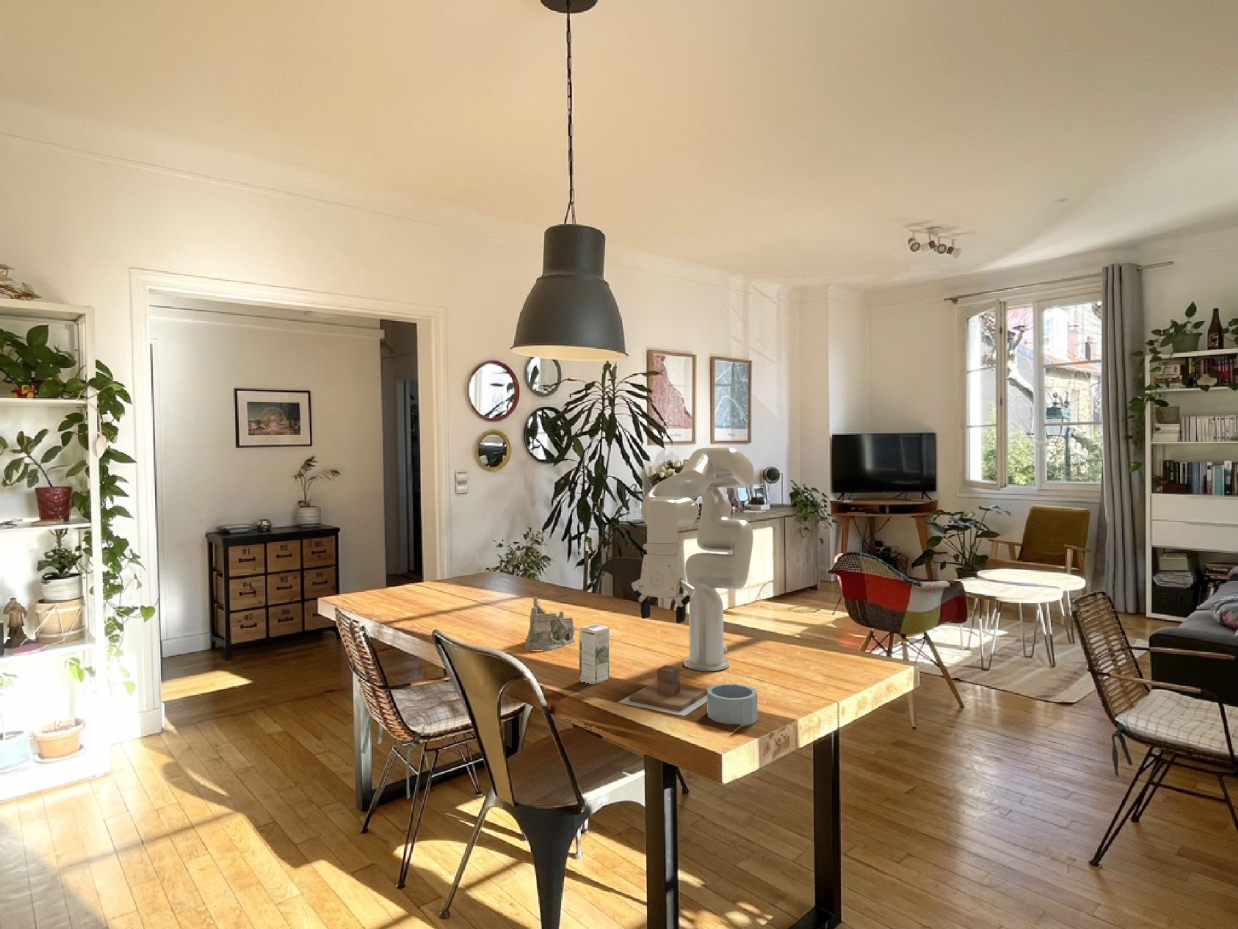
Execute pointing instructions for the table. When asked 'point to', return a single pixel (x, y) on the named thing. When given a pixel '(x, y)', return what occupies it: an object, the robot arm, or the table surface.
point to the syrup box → (593, 654)
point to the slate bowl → (732, 704)
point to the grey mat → (683, 713)
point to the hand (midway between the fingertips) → (662, 620)
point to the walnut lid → (668, 691)
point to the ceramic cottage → (548, 629)
